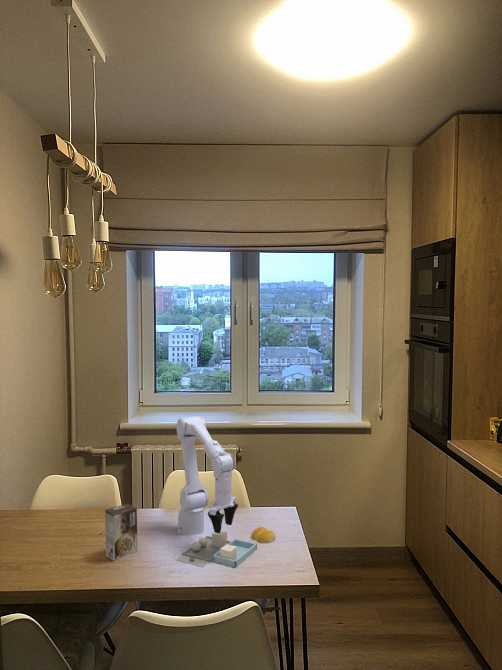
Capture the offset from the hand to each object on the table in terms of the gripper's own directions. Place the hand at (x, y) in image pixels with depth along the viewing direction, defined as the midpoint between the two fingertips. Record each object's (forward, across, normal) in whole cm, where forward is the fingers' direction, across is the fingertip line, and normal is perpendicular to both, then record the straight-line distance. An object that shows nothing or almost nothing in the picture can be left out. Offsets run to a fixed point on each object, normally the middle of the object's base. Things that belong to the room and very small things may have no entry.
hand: (223, 528), depth 180 cm
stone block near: (+8, -5, -5) cm, 11 cm away
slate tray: (+9, -3, +6) cm, 11 cm away
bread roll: (+9, +17, -7) cm, 20 cm away
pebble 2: (+8, 0, +8) cm, 12 cm away
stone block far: (+8, +4, +4) cm, 10 cm away
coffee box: (+9, -18, +30) cm, 36 cm away
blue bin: (+9, 0, -5) cm, 10 cm away
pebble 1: (+8, -4, +8) cm, 12 cm away
